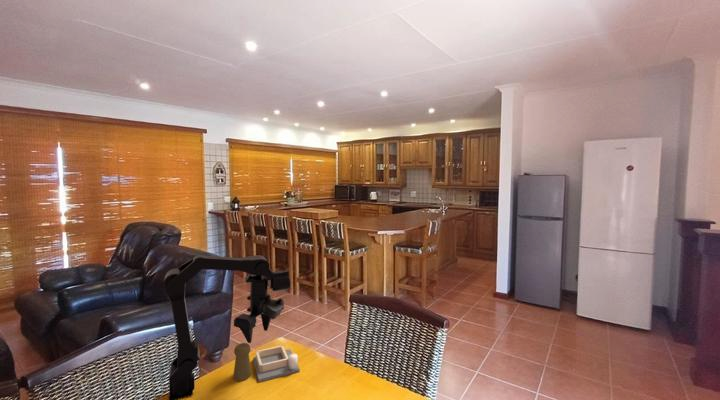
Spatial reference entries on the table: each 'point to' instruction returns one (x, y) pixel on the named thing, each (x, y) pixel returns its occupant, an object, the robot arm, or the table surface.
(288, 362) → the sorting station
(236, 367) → the cork
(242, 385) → the table surface
